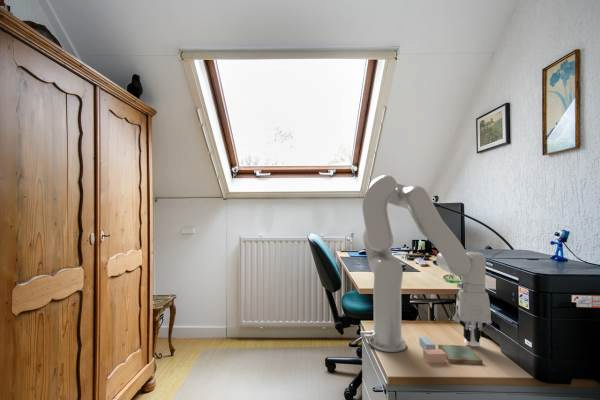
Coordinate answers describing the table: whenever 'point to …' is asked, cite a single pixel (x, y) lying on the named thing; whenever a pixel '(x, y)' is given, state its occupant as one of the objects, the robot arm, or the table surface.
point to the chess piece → (472, 336)
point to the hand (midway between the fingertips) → (471, 339)
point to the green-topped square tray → (460, 354)
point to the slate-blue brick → (426, 343)
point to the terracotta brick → (434, 356)
